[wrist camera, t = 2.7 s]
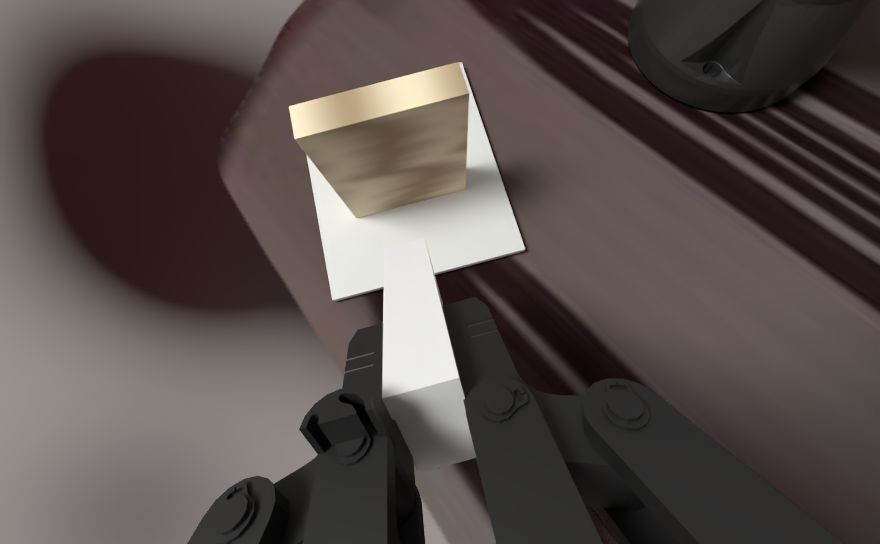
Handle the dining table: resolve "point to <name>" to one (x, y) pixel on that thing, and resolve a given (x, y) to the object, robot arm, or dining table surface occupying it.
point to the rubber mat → (420, 223)
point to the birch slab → (389, 139)
